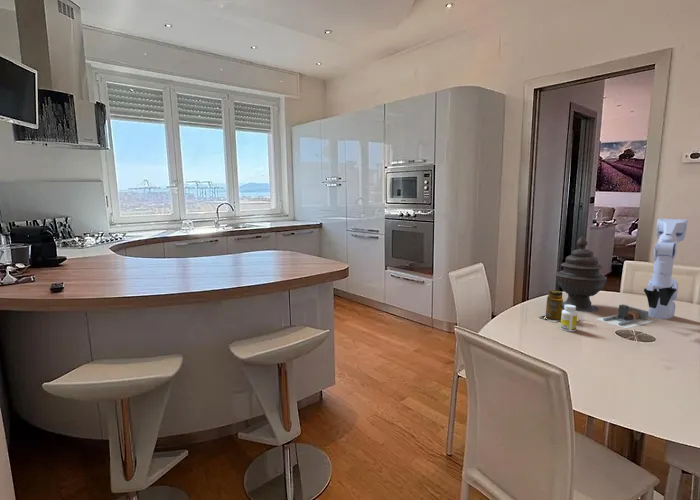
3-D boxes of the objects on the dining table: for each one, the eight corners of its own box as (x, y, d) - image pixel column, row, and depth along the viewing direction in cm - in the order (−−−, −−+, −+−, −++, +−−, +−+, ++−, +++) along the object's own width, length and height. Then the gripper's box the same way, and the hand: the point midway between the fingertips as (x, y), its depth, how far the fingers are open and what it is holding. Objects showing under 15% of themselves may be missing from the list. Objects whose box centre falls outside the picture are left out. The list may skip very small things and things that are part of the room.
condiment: (565, 319, 164) (567, 292, 162) (554, 322, 159) (557, 295, 157) (548, 314, 170) (551, 288, 168) (538, 317, 165) (540, 291, 163)
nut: (629, 316, 162) (630, 309, 162) (640, 319, 159) (641, 312, 158) (624, 317, 161) (624, 310, 160) (634, 320, 157) (635, 313, 157)
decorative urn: (615, 316, 164) (616, 235, 161) (564, 317, 168) (564, 238, 165) (594, 305, 184) (594, 233, 181) (549, 305, 188) (548, 235, 185)
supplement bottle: (574, 328, 153) (576, 304, 151) (577, 332, 148) (579, 308, 146) (559, 326, 155) (561, 303, 153) (561, 331, 150) (563, 307, 148)
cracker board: (624, 315, 167) (625, 305, 167) (655, 324, 157) (656, 312, 156) (595, 322, 159) (596, 310, 159) (625, 331, 149) (626, 319, 148)
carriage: (623, 317, 161) (625, 302, 160) (634, 320, 157) (636, 305, 156) (614, 319, 158) (616, 304, 157) (625, 322, 154) (627, 307, 153)
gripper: (661, 269, 154) (657, 301, 157) (639, 272, 149) (635, 305, 151) (682, 272, 148) (677, 306, 150) (660, 276, 142) (656, 310, 144)
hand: (658, 306), depth 150 cm, fingers open, 7 cm apart
